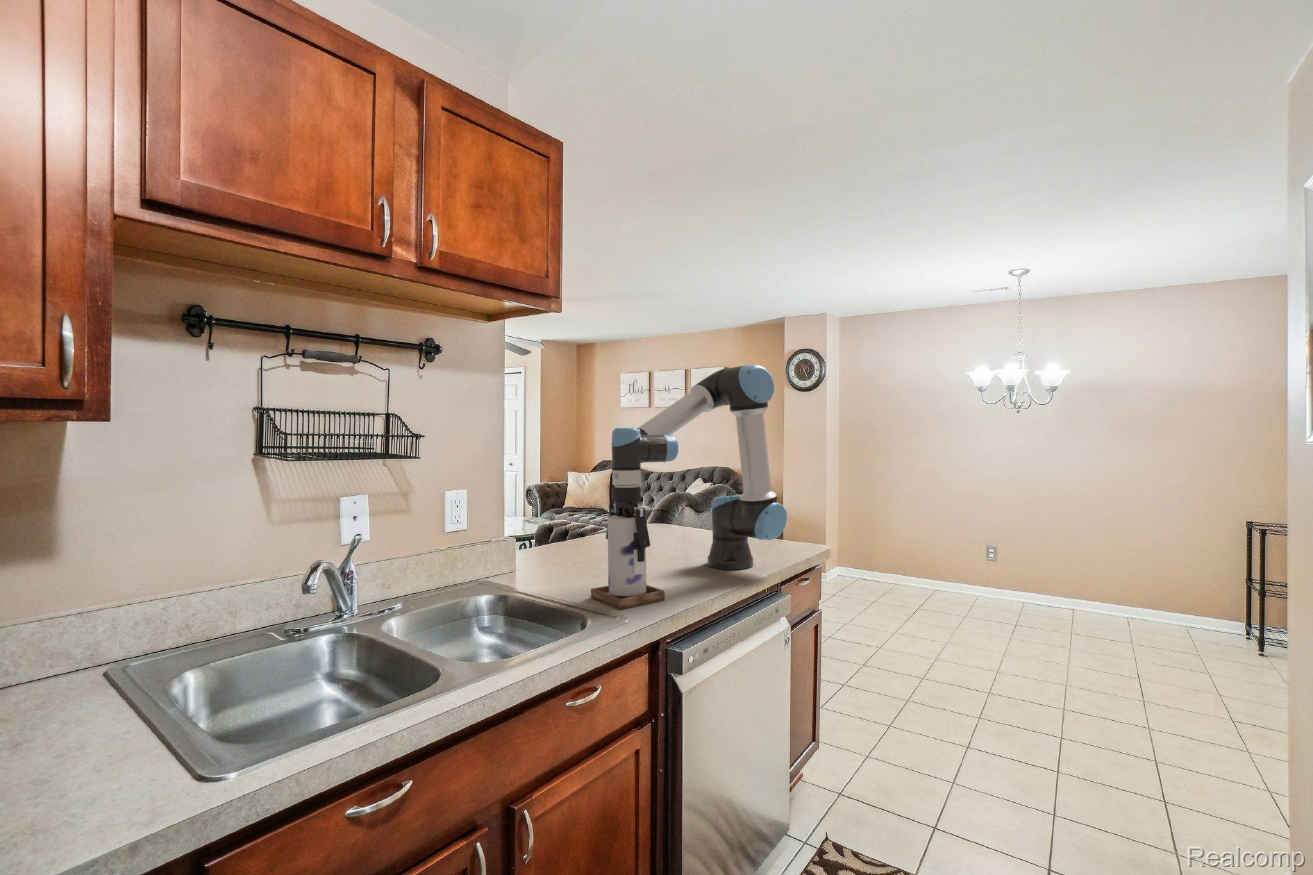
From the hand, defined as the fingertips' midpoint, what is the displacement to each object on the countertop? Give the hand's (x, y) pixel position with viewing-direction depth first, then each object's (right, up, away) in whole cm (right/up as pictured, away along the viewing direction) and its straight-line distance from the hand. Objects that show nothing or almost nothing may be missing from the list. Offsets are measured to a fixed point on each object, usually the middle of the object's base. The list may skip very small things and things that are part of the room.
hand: (627, 570), depth 158 cm
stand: (0, -8, 0) cm, 8 cm away
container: (0, -6, 0) cm, 6 cm away
